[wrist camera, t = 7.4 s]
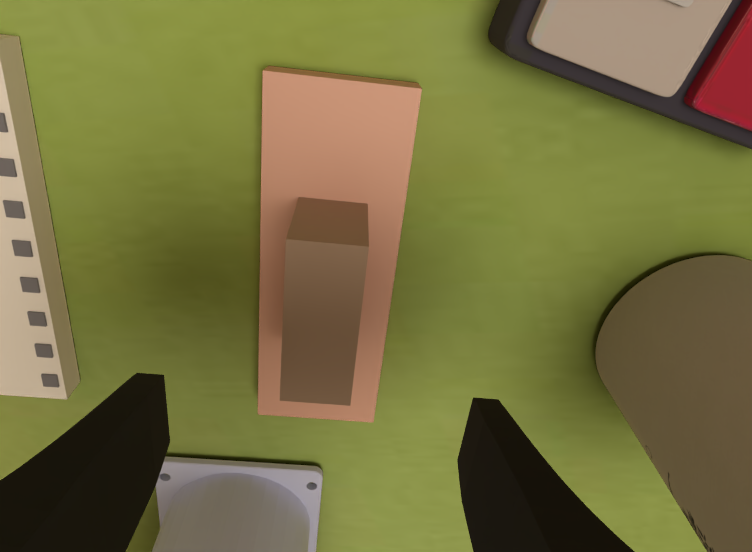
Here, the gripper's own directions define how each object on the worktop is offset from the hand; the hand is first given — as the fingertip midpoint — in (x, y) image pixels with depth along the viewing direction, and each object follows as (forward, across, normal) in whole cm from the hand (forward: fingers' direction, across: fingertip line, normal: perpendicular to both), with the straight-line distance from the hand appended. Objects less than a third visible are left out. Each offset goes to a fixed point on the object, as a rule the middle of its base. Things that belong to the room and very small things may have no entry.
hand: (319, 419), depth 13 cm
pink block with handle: (+9, 0, +1) cm, 9 cm away
